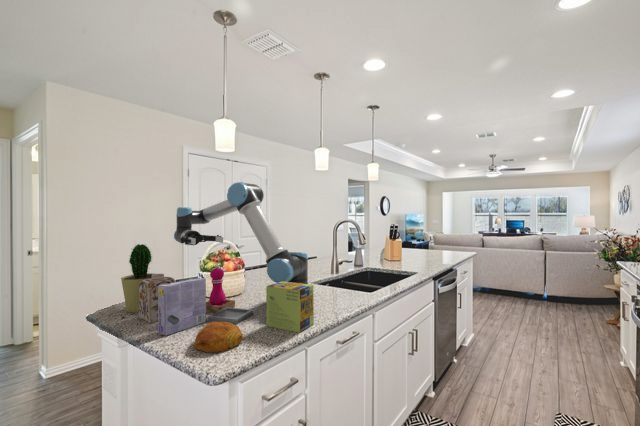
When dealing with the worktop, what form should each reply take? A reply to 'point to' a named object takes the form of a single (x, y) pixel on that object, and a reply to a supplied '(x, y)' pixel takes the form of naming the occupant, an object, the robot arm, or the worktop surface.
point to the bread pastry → (218, 337)
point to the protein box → (290, 306)
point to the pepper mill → (217, 287)
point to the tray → (230, 315)
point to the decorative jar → (151, 296)
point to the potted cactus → (136, 276)
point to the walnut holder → (215, 309)
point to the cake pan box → (181, 305)
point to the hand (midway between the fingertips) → (209, 240)
